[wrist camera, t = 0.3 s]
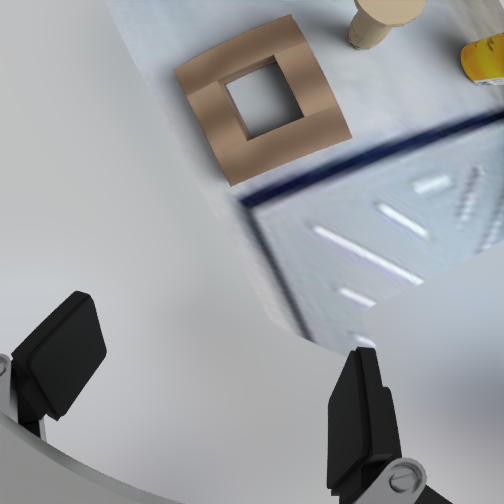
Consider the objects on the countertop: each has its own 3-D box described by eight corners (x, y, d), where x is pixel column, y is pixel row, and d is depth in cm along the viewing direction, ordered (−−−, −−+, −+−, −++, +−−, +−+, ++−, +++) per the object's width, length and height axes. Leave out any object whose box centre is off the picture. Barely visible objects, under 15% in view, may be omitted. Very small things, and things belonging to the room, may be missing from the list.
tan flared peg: (328, 39, 28) (343, -8, 15) (363, 14, 26) (394, -38, 12) (356, 67, 29) (389, 35, 16) (390, 41, 27) (436, 3, 13)
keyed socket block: (185, 74, 33) (173, 70, 29) (292, 24, 28) (290, 14, 24) (237, 180, 38) (230, 186, 34) (347, 136, 33) (352, 138, 30)
